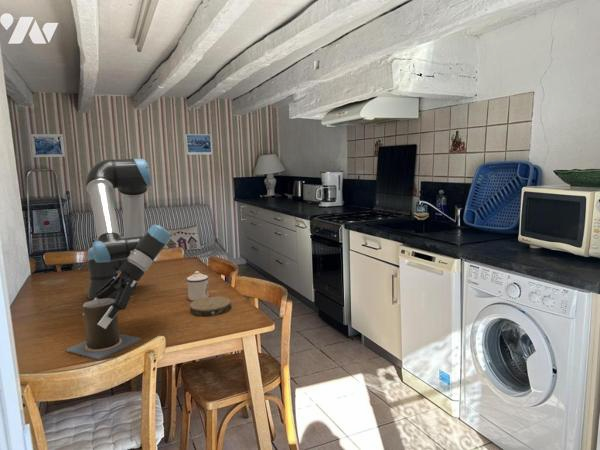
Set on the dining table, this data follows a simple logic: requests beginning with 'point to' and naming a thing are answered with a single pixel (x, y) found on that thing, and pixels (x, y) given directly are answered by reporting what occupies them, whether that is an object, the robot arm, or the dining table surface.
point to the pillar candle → (97, 334)
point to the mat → (104, 352)
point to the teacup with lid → (197, 286)
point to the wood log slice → (210, 306)
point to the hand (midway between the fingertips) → (93, 321)
